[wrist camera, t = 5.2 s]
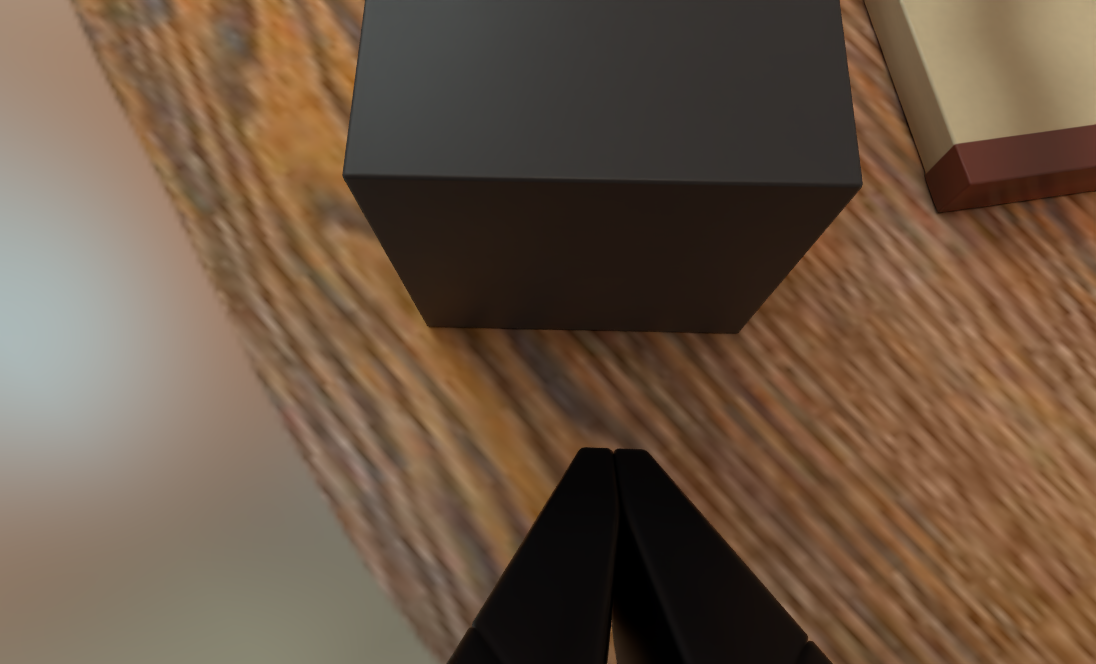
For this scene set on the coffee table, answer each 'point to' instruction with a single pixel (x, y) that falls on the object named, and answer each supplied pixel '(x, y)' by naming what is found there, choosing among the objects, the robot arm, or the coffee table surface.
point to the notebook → (995, 94)
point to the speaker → (600, 156)
